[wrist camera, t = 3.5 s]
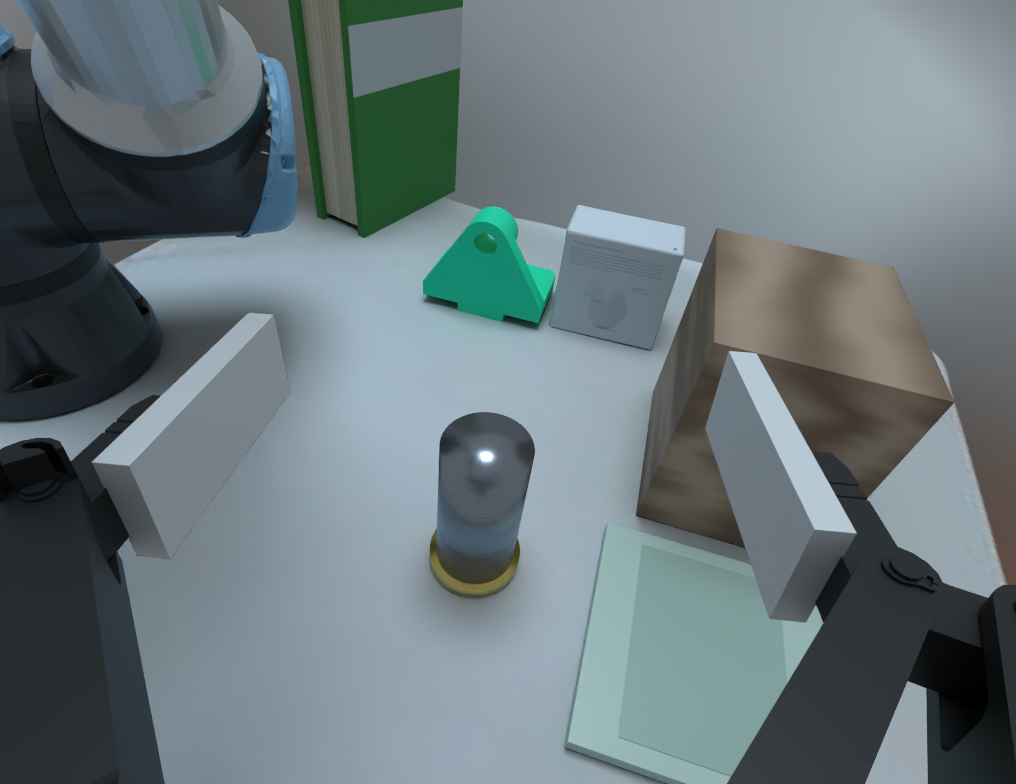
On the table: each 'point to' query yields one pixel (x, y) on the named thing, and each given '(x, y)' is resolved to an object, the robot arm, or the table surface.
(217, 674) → the table surface
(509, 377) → the table surface
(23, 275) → the robot arm
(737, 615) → the pad
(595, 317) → the skincare box
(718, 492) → the block
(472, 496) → the grey glass cylinder
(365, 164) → the hardback book
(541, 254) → the table surface
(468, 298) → the camera mount
